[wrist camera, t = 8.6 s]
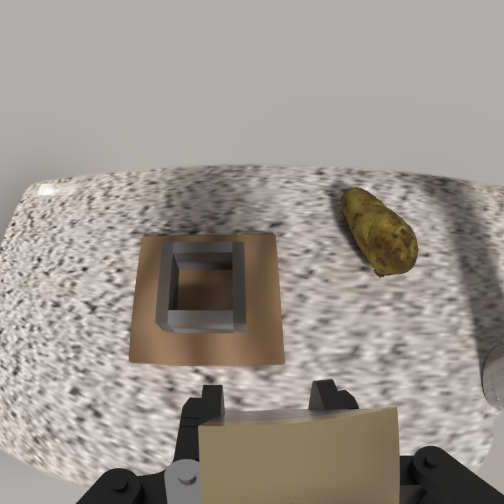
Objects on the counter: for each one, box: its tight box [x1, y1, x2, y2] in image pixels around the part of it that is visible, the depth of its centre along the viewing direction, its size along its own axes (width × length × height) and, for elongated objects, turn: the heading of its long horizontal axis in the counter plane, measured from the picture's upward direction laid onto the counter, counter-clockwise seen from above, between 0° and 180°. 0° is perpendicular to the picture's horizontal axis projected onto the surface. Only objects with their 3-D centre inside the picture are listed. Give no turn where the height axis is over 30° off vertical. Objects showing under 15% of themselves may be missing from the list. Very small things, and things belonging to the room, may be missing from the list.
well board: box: [129, 234, 285, 366], centre depth 31 cm, size 16×15×5 cm
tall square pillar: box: [198, 407, 400, 504], centre depth 9 cm, size 4×3×12 cm
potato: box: [341, 187, 418, 278], centre depth 34 cm, size 8×13×8 cm, turn 175°
